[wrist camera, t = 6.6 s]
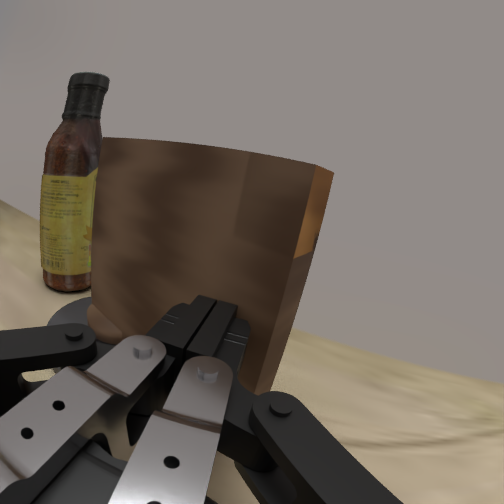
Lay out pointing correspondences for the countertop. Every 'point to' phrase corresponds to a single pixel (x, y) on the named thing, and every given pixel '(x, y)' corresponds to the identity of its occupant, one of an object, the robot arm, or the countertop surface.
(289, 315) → the brown wooden block
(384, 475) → the countertop surface
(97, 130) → the sauce bottle
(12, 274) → the countertop surface
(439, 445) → the countertop surface
